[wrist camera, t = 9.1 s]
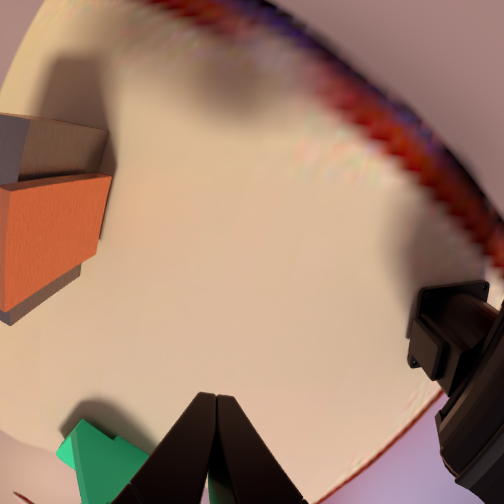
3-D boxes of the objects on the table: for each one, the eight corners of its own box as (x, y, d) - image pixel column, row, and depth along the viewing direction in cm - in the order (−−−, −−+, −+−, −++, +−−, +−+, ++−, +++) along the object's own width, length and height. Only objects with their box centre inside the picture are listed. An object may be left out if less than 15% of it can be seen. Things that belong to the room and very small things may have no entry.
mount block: (109, 131, 18) (30, 119, 10) (79, 275, 20) (10, 326, 12) (51, 119, 17) (-31, 109, 10) (28, 253, 20) (-45, 290, 12)
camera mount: (63, 439, 26) (24, 505, 16) (86, 411, 24) (39, 490, 14) (153, 495, 27) (134, 565, 17) (190, 476, 26) (173, 560, 16)
